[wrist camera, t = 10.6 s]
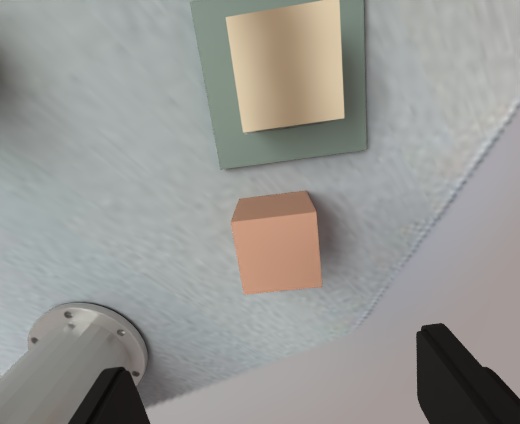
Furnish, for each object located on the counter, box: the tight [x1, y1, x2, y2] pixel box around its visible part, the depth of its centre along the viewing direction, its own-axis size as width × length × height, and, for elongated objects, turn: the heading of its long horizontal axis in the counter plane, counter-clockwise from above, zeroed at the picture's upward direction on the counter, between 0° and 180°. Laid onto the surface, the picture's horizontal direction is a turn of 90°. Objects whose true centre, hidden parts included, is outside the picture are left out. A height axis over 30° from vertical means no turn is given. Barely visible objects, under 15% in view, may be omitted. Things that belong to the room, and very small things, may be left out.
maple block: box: [226, 0, 344, 133], centre depth 19 cm, size 6×6×6 cm
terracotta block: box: [231, 191, 322, 294], centre depth 24 cm, size 6×6×6 cm
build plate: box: [190, 0, 367, 169], centre depth 22 cm, size 12×12×1 cm
